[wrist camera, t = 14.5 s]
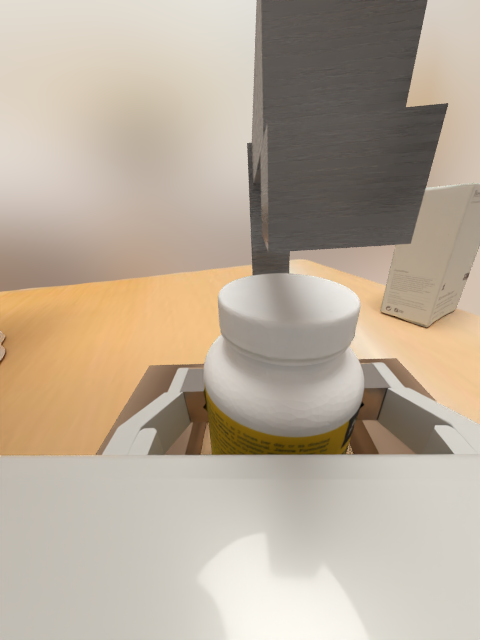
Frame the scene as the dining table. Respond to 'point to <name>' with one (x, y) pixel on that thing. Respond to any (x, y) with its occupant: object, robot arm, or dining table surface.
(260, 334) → the pill bottle
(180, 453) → the cutout shelf
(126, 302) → the dining table surface
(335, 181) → the hook arm
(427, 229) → the skincare box
